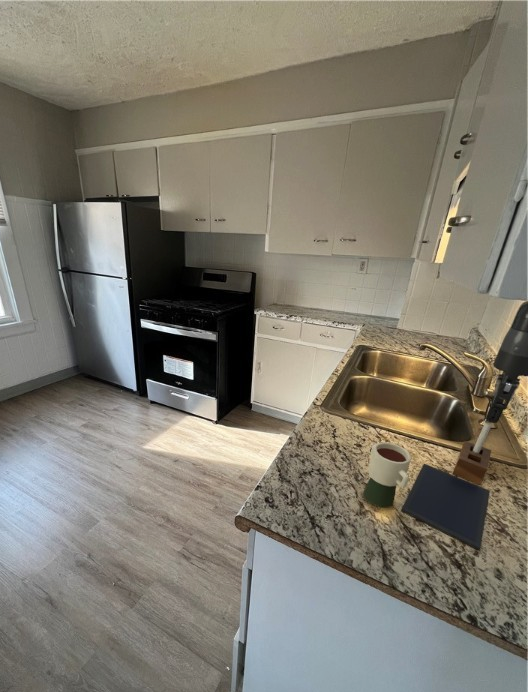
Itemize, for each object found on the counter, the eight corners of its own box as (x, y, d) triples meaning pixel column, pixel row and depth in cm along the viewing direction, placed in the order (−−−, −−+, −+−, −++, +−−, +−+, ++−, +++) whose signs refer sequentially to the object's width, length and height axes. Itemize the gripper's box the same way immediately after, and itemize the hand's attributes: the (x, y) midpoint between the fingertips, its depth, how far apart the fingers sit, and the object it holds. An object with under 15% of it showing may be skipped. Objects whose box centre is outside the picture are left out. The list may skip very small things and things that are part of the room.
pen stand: (458, 455, 85) (464, 440, 83) (484, 465, 82) (491, 450, 80) (452, 474, 78) (458, 458, 76) (479, 485, 75) (487, 469, 73)
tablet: (423, 465, 81) (423, 463, 81) (488, 492, 73) (490, 490, 73) (400, 511, 67) (401, 508, 67) (479, 551, 59) (480, 547, 59)
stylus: (466, 463, 83) (485, 421, 77) (473, 465, 82) (492, 423, 76) (466, 465, 82) (484, 423, 76) (472, 468, 81) (491, 425, 75)
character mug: (408, 515, 66) (426, 467, 60) (379, 521, 64) (395, 472, 59) (376, 479, 75) (389, 435, 70) (350, 484, 74) (361, 438, 68)
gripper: (545, 363, 61) (511, 432, 68) (543, 347, 71) (513, 409, 78) (498, 353, 65) (470, 419, 72) (502, 339, 75) (477, 399, 82)
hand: (492, 414), depth 75 cm, fingers open, 8 cm apart
